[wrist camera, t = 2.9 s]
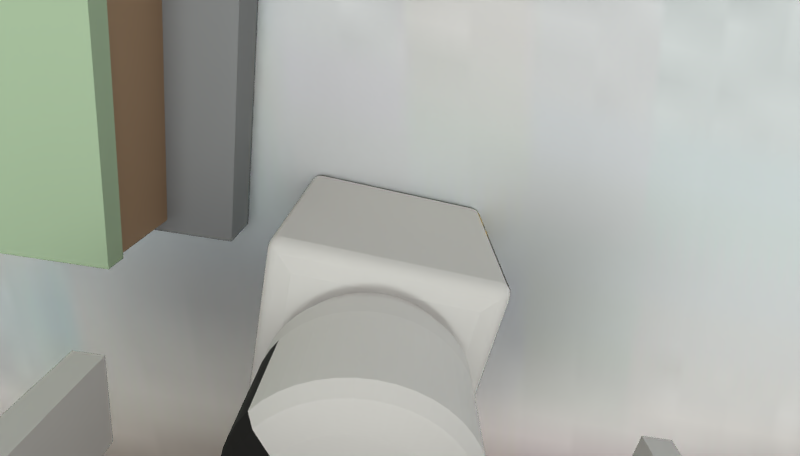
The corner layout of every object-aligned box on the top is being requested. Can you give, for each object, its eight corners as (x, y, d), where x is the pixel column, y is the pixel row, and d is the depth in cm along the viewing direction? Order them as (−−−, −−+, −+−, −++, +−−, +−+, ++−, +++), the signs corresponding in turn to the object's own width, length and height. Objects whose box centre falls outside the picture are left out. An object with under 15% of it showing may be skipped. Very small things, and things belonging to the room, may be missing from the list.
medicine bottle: (438, 344, 22) (468, 643, 11) (291, 315, 22) (171, 596, 11) (480, 208, 20) (572, 420, 9) (314, 171, 19) (187, 347, 8)
